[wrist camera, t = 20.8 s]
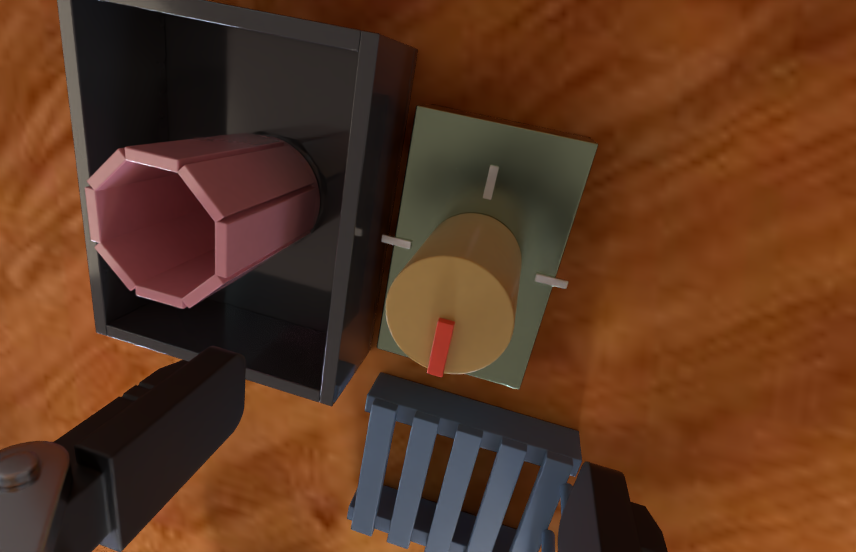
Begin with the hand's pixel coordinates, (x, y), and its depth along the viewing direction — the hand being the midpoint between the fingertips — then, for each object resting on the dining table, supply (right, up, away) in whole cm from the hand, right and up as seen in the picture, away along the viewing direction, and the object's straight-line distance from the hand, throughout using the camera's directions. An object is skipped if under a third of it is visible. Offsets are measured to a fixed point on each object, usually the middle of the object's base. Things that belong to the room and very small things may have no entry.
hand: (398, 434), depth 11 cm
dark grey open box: (-8, +8, +15) cm, 19 cm away
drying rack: (+3, -8, +19) cm, 20 cm away
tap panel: (+3, +5, +13) cm, 15 cm away
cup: (-8, +8, +14) cm, 18 cm away
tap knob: (+3, +4, +10) cm, 12 cm away
